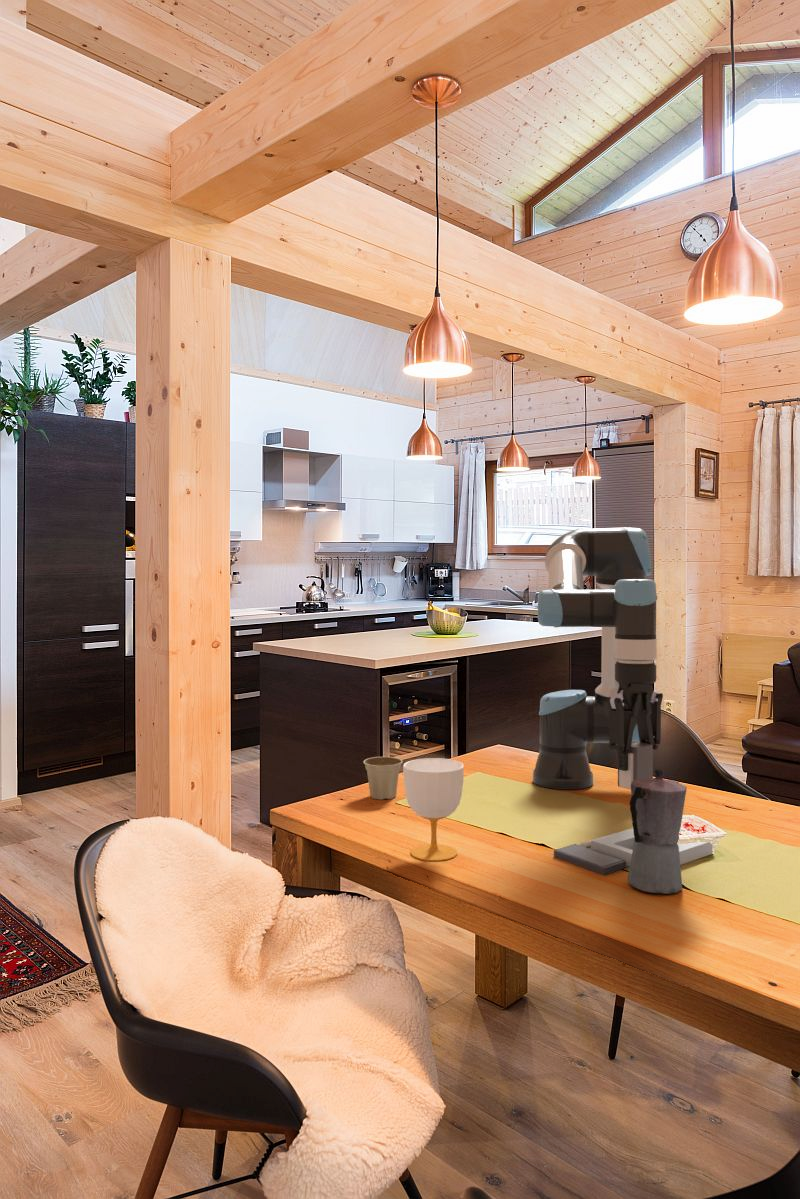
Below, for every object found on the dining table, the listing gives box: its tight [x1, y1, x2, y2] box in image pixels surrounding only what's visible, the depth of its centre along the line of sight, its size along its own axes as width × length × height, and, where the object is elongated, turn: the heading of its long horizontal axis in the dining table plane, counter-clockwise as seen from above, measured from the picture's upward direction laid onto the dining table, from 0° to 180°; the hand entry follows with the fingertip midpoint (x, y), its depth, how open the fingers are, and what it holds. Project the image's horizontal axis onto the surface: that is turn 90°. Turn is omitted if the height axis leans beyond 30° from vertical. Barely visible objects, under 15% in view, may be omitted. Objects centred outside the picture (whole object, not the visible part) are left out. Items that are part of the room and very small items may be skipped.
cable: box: [577, 834, 609, 848], centre depth 161 cm, size 11×1×1 cm, turn 126°
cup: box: [402, 757, 465, 862], centre depth 156 cm, size 12×12×17 cm
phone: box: [553, 843, 627, 876], centre depth 151 cm, size 6×12×1 cm, turn 36°
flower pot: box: [363, 756, 404, 801], centre depth 197 cm, size 9×9×9 cm
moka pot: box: [627, 768, 688, 895], centre depth 139 cm, size 10×15×20 cm, turn 138°
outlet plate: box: [590, 827, 713, 868], centre depth 156 cm, size 18×14×3 cm
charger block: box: [617, 741, 654, 790], centre depth 154 cm, size 4×4×8 cm
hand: (635, 785), depth 154 cm, fingers closed on charger block, 4 cm apart
